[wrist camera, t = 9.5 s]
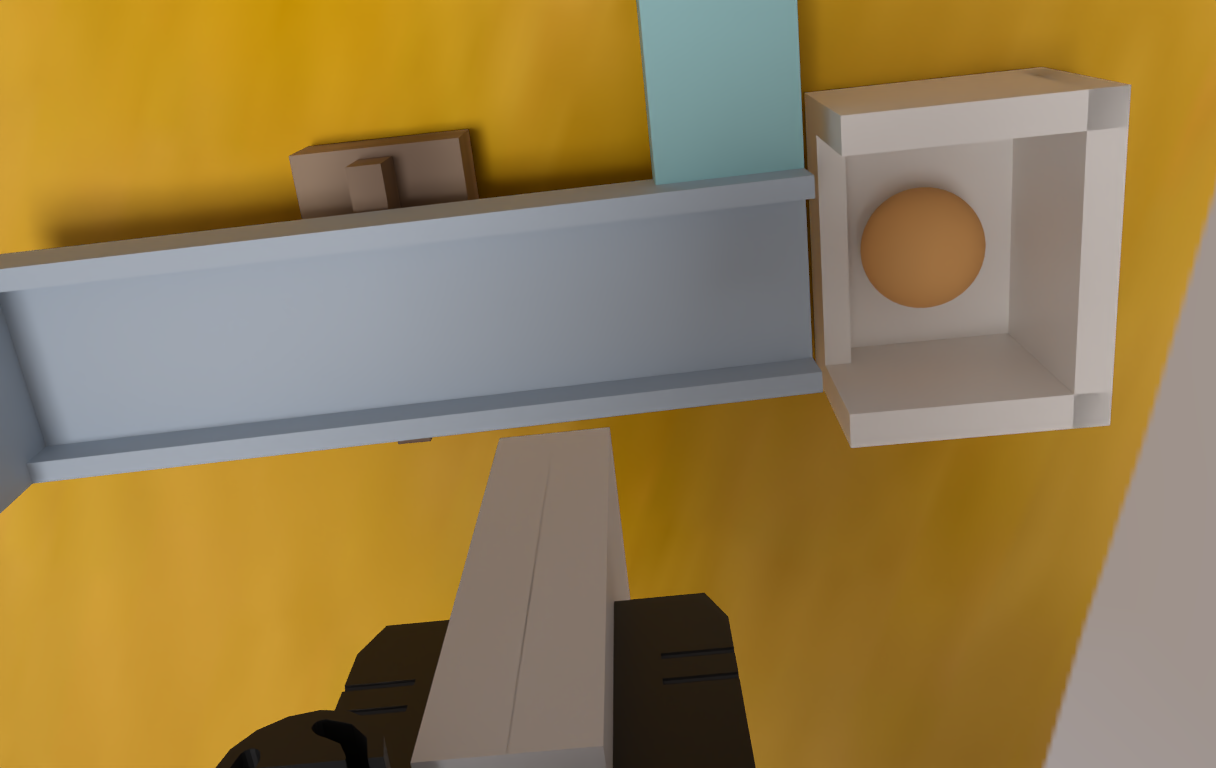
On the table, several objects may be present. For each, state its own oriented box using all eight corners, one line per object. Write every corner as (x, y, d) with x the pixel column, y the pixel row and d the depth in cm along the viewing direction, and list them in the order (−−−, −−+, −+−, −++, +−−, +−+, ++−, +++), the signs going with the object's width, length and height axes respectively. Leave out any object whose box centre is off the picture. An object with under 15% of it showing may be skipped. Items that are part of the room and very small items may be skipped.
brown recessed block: (363, 415, 36) (335, 458, 33) (308, 146, 33) (272, 163, 29) (509, 401, 36) (497, 444, 32) (468, 129, 32) (449, 144, 29)
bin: (816, 373, 35) (851, 448, 29) (804, 92, 32) (840, 115, 26) (1032, 353, 35) (1110, 425, 29) (1042, 67, 31) (1131, 84, 26)
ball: (864, 326, 30) (993, 320, 30) (861, 205, 29) (995, 196, 28) (859, 291, 34) (975, 285, 33) (856, 181, 32) (977, 172, 32)
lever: (0, 459, 31) (-77, 522, 28) (-157, -7, 27) (-274, -7, 23) (805, 366, 31) (838, 416, 28) (784, -115, 27) (820, -133, 23)
